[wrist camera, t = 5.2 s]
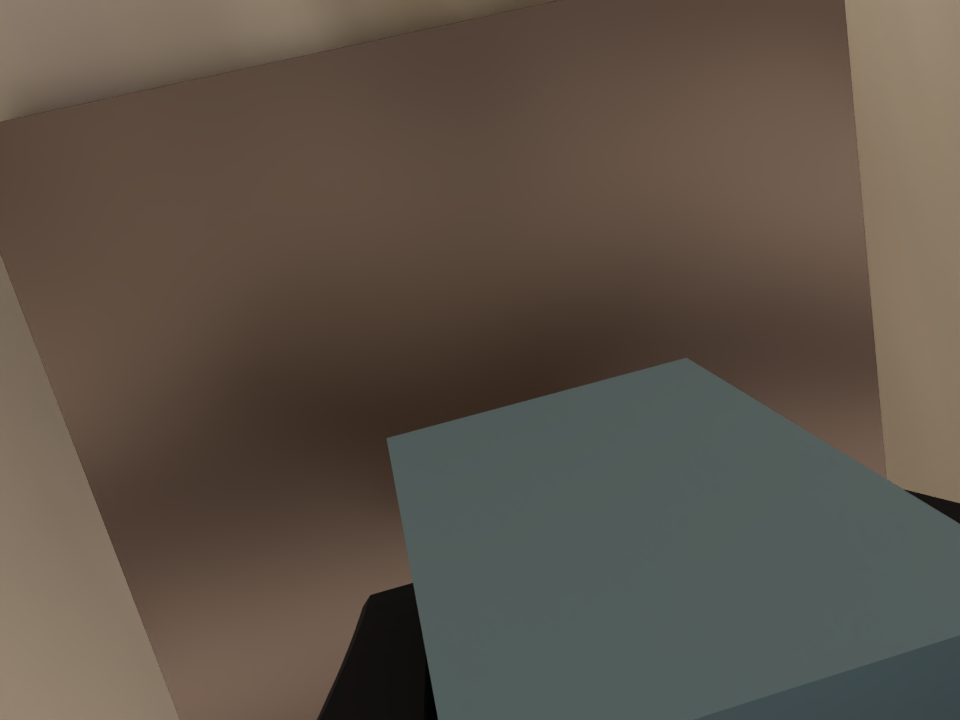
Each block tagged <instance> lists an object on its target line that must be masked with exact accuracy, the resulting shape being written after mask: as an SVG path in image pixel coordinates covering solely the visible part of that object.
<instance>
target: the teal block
mask: <svg viewBox="0 0 960 720" xmlns="http://www.w3.org/2000/svg"><path fill="white" fill-rule="evenodd" d="M387 444H388V449H389V455H390V460H391V465H392V471H393V476H394V482H395V487H396V493H397V498H398V504H399V509H400V514H401V520H402V525H403V531H404V536H405V542H406V547H407V553H408V558H409V564H410V569H411V574H412V580H413V585H414V591H415V596H416V602H417V607H418V613H419V618H420V623H421V629H422V634H423V640H424V645H425V651H426V656H427V662H428V667H429V673H430V678H431V683H432V689H433V694H434V700H435V705H436V711H437V716H438V720H960V524H959V523H957V522H956V521H954V520H953V519H951V518H949V517H948V516H946V515H944V514H943V513H941V512H939V511H938V510H936V509H934V508H933V507H931V506H930V505H928V504H926V503H925V502H923V501H921V500H920V499H918V498H916V497H915V496H913V495H911V494H910V493H908V492H907V491H905V490H903V489H902V488H900V487H898V486H897V485H895V484H893V483H892V482H890V481H888V480H887V479H885V478H883V477H882V476H880V475H879V474H877V473H875V472H874V471H872V470H870V469H869V468H867V467H865V466H864V465H862V464H860V463H859V462H857V461H856V460H854V459H852V458H851V457H849V456H847V455H846V454H844V453H842V452H841V451H839V450H837V449H836V448H834V447H833V446H831V445H829V444H828V443H826V442H824V441H823V440H821V439H819V438H818V437H816V436H814V435H813V434H811V433H810V432H808V431H806V430H805V429H803V428H801V427H800V426H798V425H796V424H795V423H793V422H791V421H790V420H788V419H787V418H785V417H783V416H782V415H780V414H778V413H777V412H775V411H773V410H772V409H770V408H768V407H767V406H765V405H764V404H762V403H760V402H759V401H757V400H755V399H754V398H752V397H750V396H749V395H747V394H745V393H744V392H742V391H740V390H739V389H737V388H736V387H734V386H732V385H731V384H729V383H727V382H726V381H724V380H722V379H721V378H719V377H717V376H716V375H714V374H713V373H711V372H709V371H708V370H706V369H704V368H703V367H701V366H699V365H698V364H696V363H694V362H693V361H691V360H690V359H688V358H684V359H680V360H676V361H673V362H669V363H665V364H661V365H658V366H654V367H650V368H647V369H643V370H639V371H635V372H632V373H628V374H624V375H620V376H617V377H613V378H609V379H605V380H602V381H598V382H594V383H591V384H587V385H583V386H579V387H576V388H572V389H568V390H564V391H561V392H557V393H553V394H550V395H546V396H542V397H538V398H535V399H531V400H527V401H523V402H520V403H516V404H512V405H508V406H505V407H501V408H497V409H494V410H490V411H486V412H482V413H479V414H475V415H471V416H467V417H464V418H460V419H456V420H453V421H449V422H445V423H441V424H438V425H434V426H430V427H426V428H423V429H419V430H415V431H412V432H408V433H404V434H400V435H397V436H393V437H389V438H387Z"/></svg>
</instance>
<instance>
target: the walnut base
mask: <svg viewBox="0 0 960 720" xmlns="http://www.w3.org/2000/svg"><path fill="white" fill-rule="evenodd" d="M0 254H1V256H2V259H3V262H4V264H5V267H6V269H7V272H8V275H9V277H10V280H11V282H12V285H13V288H14V290H15V293H16V295H17V298H18V301H19V303H20V306H21V308H22V311H23V314H24V316H25V319H26V321H27V324H28V327H29V329H30V332H31V334H32V337H33V340H34V342H35V345H36V347H37V350H38V353H39V355H40V358H41V360H42V363H43V365H44V368H45V371H46V373H47V376H48V378H49V381H50V384H51V386H52V389H53V391H54V394H55V397H56V399H57V402H58V404H59V407H60V410H61V412H62V415H63V417H64V420H65V423H66V425H67V428H68V430H69V433H70V436H71V438H72V441H73V443H74V446H75V449H76V451H77V454H78V456H79V459H80V462H81V464H82V467H83V469H84V472H85V474H86V477H87V480H88V482H89V485H90V487H91V490H92V493H93V495H94V498H95V500H96V503H97V506H98V508H99V511H100V513H101V516H102V519H103V521H104V524H105V526H106V529H107V532H108V534H109V537H110V539H111V542H112V545H113V547H114V550H115V552H116V555H117V558H118V560H119V563H120V565H121V568H122V571H123V573H124V576H125V578H126V581H127V583H128V586H129V589H130V591H131V594H132V596H133V599H134V602H135V604H136V607H137V609H138V612H139V615H140V617H141V620H142V622H143V625H144V628H145V630H146V633H147V635H148V638H149V641H150V643H151V646H152V648H153V651H154V654H155V656H156V659H157V661H158V664H159V667H160V669H161V672H162V674H163V677H164V680H165V682H166V685H167V687H168V690H169V692H170V695H171V698H172V700H173V703H174V705H175V708H176V711H177V713H178V716H179V718H180V720H317V718H318V716H319V714H320V712H321V709H322V707H323V705H324V703H325V701H326V698H327V696H328V694H329V692H330V690H331V687H332V685H333V683H334V681H335V679H336V676H337V674H338V672H339V669H340V667H341V665H342V662H343V660H344V657H345V655H346V652H347V650H348V647H349V645H350V642H351V639H352V637H353V634H354V631H355V629H356V626H357V623H358V620H359V617H360V614H361V611H362V608H363V606H364V604H365V603H366V601H367V599H368V598H369V596H370V595H372V594H376V593H379V592H383V591H386V590H390V589H393V588H396V587H400V586H403V585H407V584H410V583H413V580H412V574H411V569H410V564H409V558H408V553H407V547H406V542H405V536H404V531H403V525H402V520H401V514H400V509H399V504H398V498H397V493H396V487H395V482H394V476H393V471H392V465H391V460H390V455H389V449H388V444H387V438H389V437H393V436H397V435H400V434H404V433H408V432H412V431H415V430H419V429H423V428H426V427H430V426H434V425H438V424H441V423H445V422H449V421H453V420H456V419H460V418H464V417H467V416H471V415H475V414H479V413H482V412H486V411H490V410H494V409H497V408H501V407H505V406H508V405H512V404H516V403H520V402H523V401H527V400H531V399H535V398H538V397H542V396H546V395H550V394H553V393H557V392H561V391H564V390H568V389H572V388H576V387H579V386H583V385H587V384H591V383H594V382H598V381H602V380H605V379H609V378H613V377H617V376H620V375H624V374H628V373H632V372H635V371H639V370H643V369H647V368H650V367H654V366H658V365H661V364H665V363H669V362H673V361H676V360H680V359H684V358H688V359H690V360H691V361H693V362H694V363H696V364H698V365H699V366H701V367H703V368H704V369H706V370H708V371H709V372H711V373H713V374H714V375H716V376H717V377H719V378H721V379H722V380H724V381H726V382H727V383H729V384H731V385H732V386H734V387H736V388H737V389H739V390H740V391H742V392H744V393H745V394H747V395H749V396H750V397H752V398H754V399H755V400H757V401H759V402H760V403H762V404H764V405H765V406H767V407H768V408H770V409H772V410H773V411H775V412H777V413H778V414H780V415H782V416H783V417H785V418H787V419H788V420H790V421H791V422H793V423H795V424H796V425H798V426H800V427H801V428H803V429H805V430H806V431H808V432H810V433H811V434H813V435H814V436H816V437H818V438H819V439H821V440H823V441H824V442H826V443H828V444H829V445H831V446H833V447H834V448H836V449H837V450H839V451H841V452H842V453H844V454H846V455H847V456H849V457H851V458H852V459H854V460H856V461H857V462H859V463H860V464H862V465H864V466H865V467H867V468H869V469H870V470H872V471H874V472H875V473H877V474H879V475H880V476H882V477H883V478H885V479H886V468H885V456H884V445H883V434H882V422H881V411H880V400H879V388H878V377H877V365H876V354H875V343H874V331H873V320H872V309H871V297H870V286H869V274H868V263H867V252H866V240H865V229H864V218H863V206H862V195H861V183H860V172H859V161H858V149H857V138H856V127H855V115H854V104H853V92H852V81H851V70H850V58H849V47H848V36H847V24H846V13H845V1H844V0H559V1H554V2H550V3H545V4H540V5H536V6H531V7H527V8H522V9H517V10H513V11H508V12H504V13H499V14H494V15H490V16H485V17H481V18H476V19H471V20H467V21H462V22H458V23H453V24H448V25H444V26H439V27H434V28H430V29H425V30H421V31H416V32H411V33H407V34H402V35H398V36H393V37H388V38H384V39H379V40H375V41H370V42H365V43H361V44H356V45H352V46H347V47H342V48H338V49H333V50H329V51H324V52H319V53H315V54H310V55H306V56H301V57H296V58H292V59H287V60H283V61H278V62H273V63H269V64H264V65H260V66H255V67H250V68H246V69H241V70H237V71H232V72H227V73H223V74H218V75H214V76H209V77H204V78H200V79H195V80H191V81H186V82H181V83H177V84H172V85H168V86H163V87H158V88H154V89H149V90H145V91H140V92H135V93H131V94H126V95H121V96H117V97H112V98H108V99H103V100H98V101H94V102H89V103H85V104H80V105H75V106H71V107H66V108H62V109H57V110H52V111H48V112H43V113H39V114H34V115H29V116H25V117H20V118H16V119H11V120H6V121H2V122H0Z"/></svg>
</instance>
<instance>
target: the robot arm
mask: <svg viewBox="0 0 960 720" xmlns="http://www.w3.org/2000/svg"><path fill="white" fill-rule="evenodd" d="M903 490H904V489H903ZM905 491H907V492H908V493H910V494H911V495H913V496H915V497H916V498H918V499H920V500H921V501H923V502H925V503H926V504H928V505H930V506H931V507H933V508H934V509H936V510H938V511H939V512H941V513H943V514H944V515H946V516H948V517H949V518H951V519H953V520H954V521H956V522H957V523H959V524H960V503H956V502H952V501H948V500H944V499H940V498H936V497H932V496H928V495H924V494H920V493H916V492H912V491H908V490H905ZM317 720H438V716H437V711H436V705H435V700H434V694H433V689H432V683H431V678H430V673H429V667H428V662H427V656H426V651H425V645H424V640H423V634H422V629H421V623H420V618H419V613H418V607H417V602H416V596H415V591H414V585H413V583H410V584H407V585H403V586H400V587H396V588H393V589H390V590H386V591H383V592H379V593H376V594H372V595H370V596H369V598H368V599H367V601H366V603H365V604H364V606H363V608H362V611H361V614H360V617H359V620H358V623H357V626H356V629H355V631H354V634H353V637H352V639H351V642H350V645H349V647H348V650H347V652H346V655H345V657H344V660H343V662H342V665H341V667H340V669H339V672H338V674H337V676H336V679H335V681H334V683H333V685H332V687H331V690H330V692H329V694H328V696H327V698H326V701H325V703H324V705H323V707H322V709H321V712H320V714H319V716H318V718H317Z"/></svg>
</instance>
